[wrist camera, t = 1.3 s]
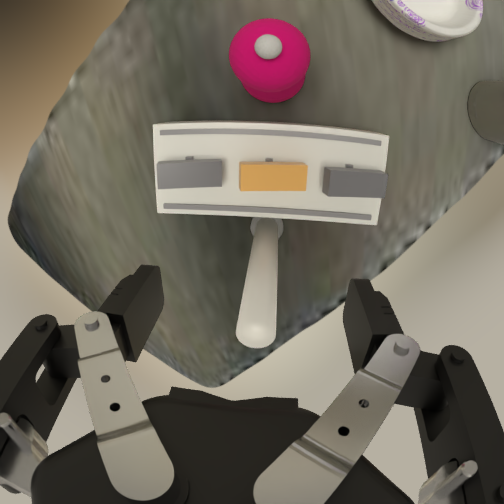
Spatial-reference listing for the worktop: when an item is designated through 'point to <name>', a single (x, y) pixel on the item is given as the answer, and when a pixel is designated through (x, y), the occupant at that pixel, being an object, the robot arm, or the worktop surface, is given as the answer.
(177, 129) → the breaker panel
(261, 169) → the block
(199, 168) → the paddle
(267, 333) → the post
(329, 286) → the worktop surface
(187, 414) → the robot arm
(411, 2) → the paper bowls
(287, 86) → the pepper mill
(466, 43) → the worktop surface
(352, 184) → the paddle
